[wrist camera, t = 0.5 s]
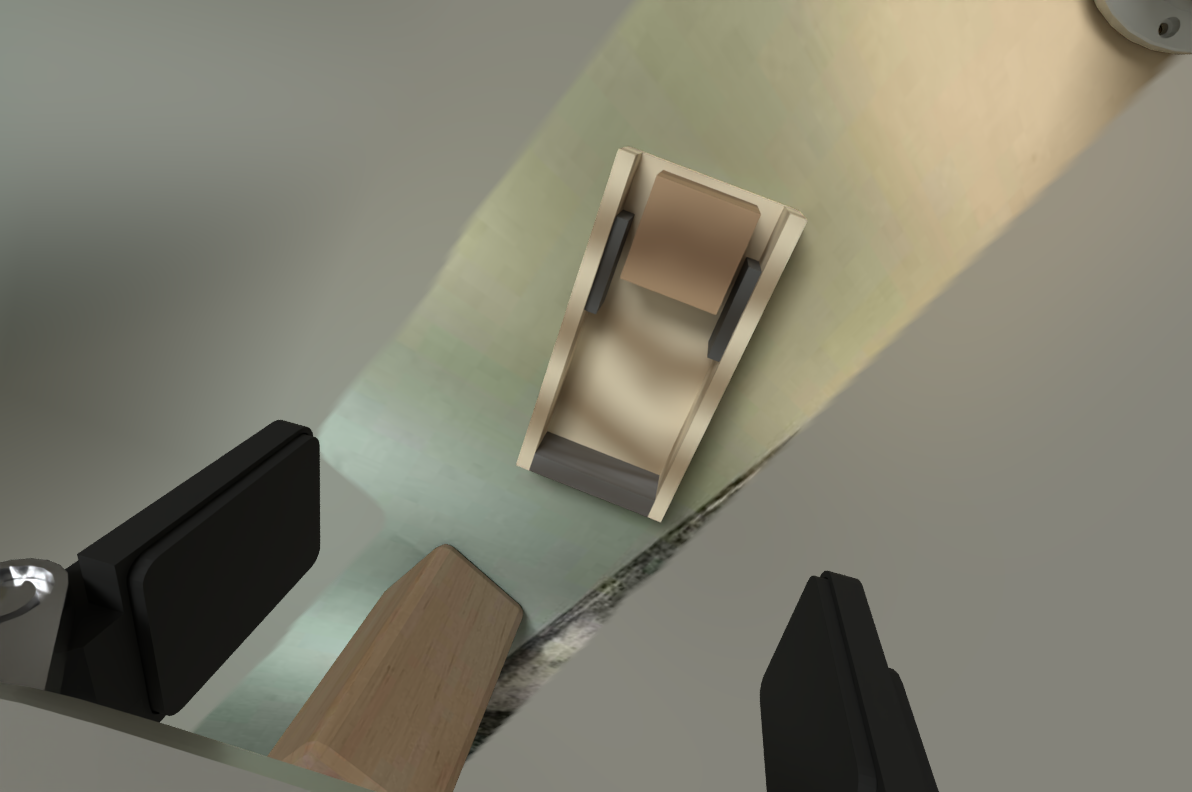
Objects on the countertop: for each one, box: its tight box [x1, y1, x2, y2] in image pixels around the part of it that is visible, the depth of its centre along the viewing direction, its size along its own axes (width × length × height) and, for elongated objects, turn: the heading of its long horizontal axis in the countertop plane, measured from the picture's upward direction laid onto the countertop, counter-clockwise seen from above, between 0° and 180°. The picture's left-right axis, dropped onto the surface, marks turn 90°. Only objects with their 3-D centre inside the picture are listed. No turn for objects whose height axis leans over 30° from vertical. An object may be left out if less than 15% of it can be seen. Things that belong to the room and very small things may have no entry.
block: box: [267, 544, 523, 792], centre depth 46 cm, size 10×10×20 cm
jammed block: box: [620, 170, 761, 315], centre depth 36 cm, size 6×6×4 cm
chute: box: [516, 146, 808, 522], centre depth 40 cm, size 22×11×4 cm, turn 162°
